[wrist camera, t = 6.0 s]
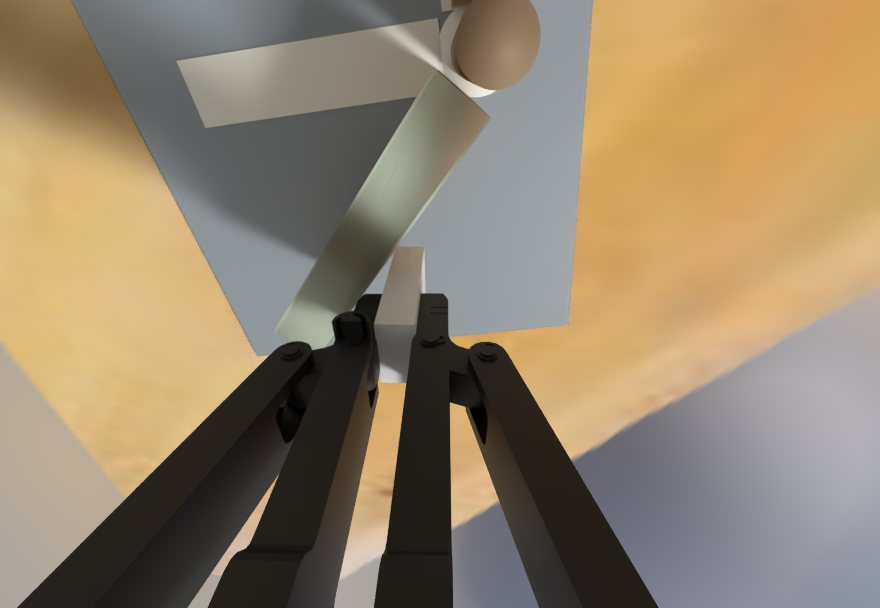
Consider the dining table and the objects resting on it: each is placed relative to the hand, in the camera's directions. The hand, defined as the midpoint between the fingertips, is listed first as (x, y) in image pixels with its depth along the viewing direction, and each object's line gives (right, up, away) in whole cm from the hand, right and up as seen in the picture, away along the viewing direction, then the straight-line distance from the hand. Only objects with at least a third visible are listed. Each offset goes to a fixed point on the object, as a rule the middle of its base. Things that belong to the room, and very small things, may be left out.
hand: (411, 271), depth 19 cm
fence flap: (-1, +4, +1) cm, 5 cm away
